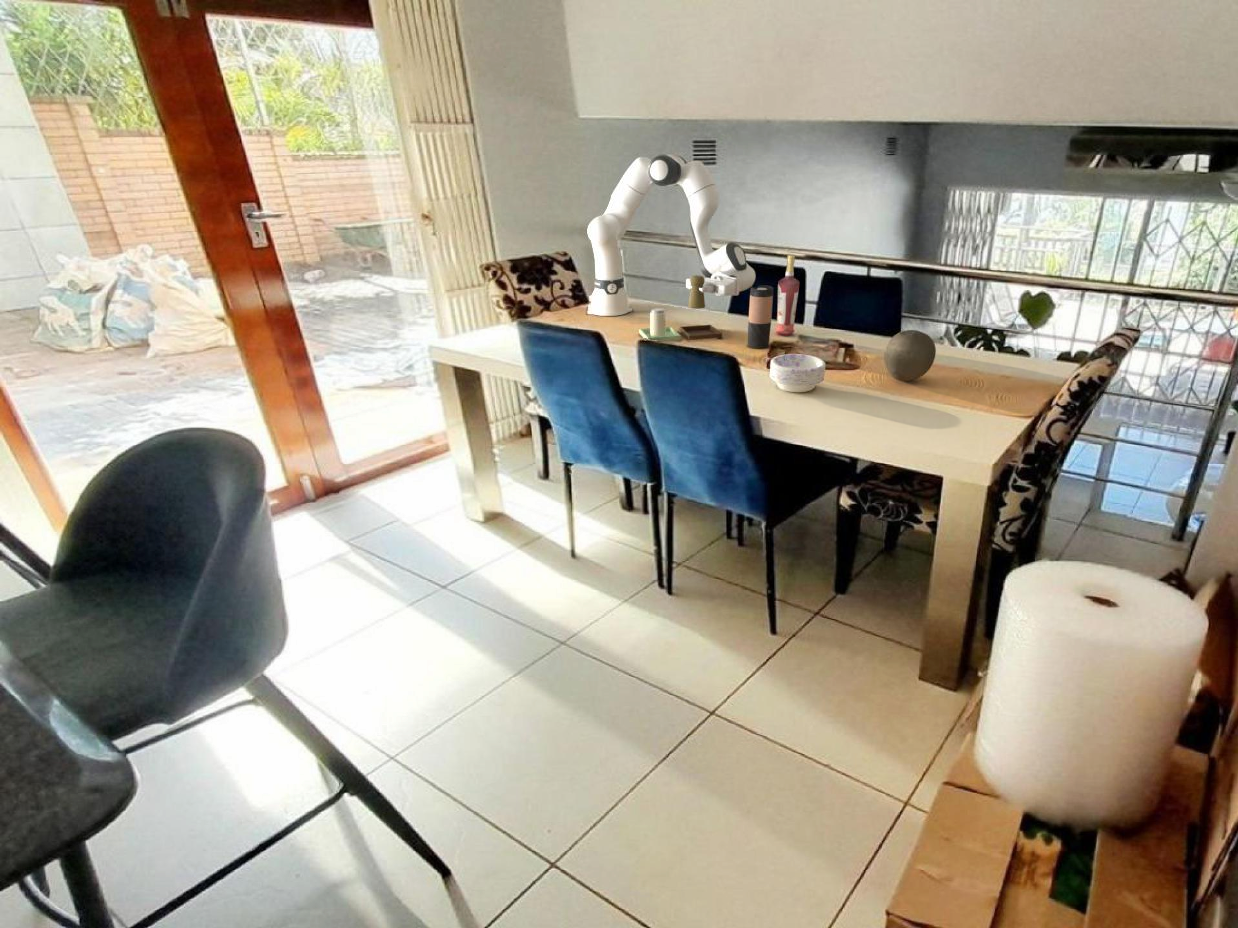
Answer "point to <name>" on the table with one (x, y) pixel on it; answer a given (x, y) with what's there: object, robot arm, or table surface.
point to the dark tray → (700, 332)
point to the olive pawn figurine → (696, 292)
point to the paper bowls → (797, 372)
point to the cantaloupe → (909, 355)
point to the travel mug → (760, 316)
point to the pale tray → (669, 335)
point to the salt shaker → (657, 322)
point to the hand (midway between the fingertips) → (695, 289)
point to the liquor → (787, 300)
